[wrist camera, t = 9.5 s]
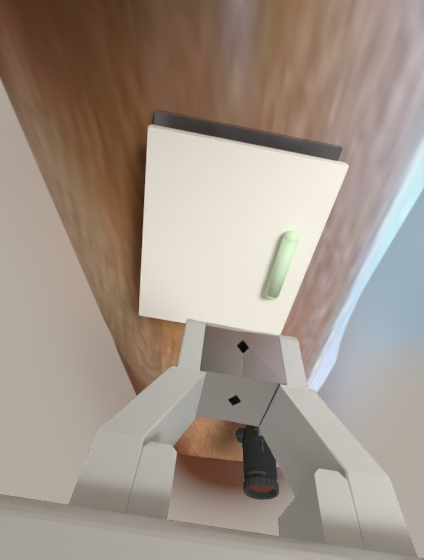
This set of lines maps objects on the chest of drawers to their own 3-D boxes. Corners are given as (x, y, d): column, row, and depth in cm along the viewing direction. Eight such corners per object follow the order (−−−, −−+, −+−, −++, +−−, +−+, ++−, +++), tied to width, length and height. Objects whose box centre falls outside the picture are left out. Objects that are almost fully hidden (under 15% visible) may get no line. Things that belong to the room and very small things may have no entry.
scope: (299, 479, 46) (281, 506, 52) (287, 394, 57) (273, 424, 63) (243, 471, 46) (231, 499, 51) (242, 388, 57) (233, 418, 63)
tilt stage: (151, 124, 29) (143, 129, 26) (345, 162, 29) (354, 171, 27) (141, 309, 41) (135, 323, 39) (277, 332, 42) (279, 348, 39)
